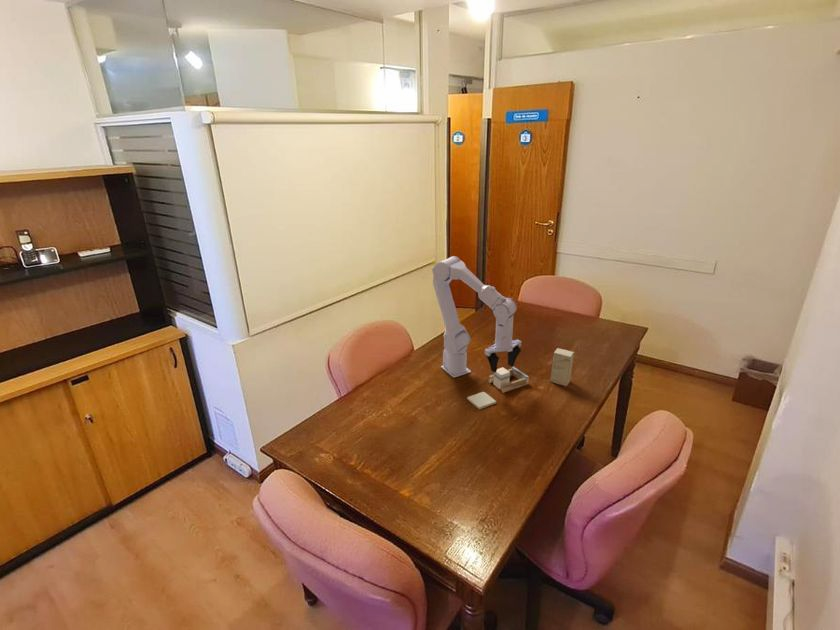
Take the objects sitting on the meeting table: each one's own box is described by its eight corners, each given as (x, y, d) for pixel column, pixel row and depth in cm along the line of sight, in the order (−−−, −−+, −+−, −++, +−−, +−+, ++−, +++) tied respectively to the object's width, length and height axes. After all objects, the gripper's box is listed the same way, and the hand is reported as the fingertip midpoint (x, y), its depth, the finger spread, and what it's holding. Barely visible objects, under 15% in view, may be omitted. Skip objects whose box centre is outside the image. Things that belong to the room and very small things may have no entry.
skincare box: (549, 381, 161) (552, 352, 156) (553, 376, 165) (556, 347, 160) (567, 386, 158) (570, 356, 153) (570, 381, 161) (574, 351, 157)
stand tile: (467, 399, 152) (467, 397, 152) (483, 393, 155) (483, 391, 155) (479, 409, 147) (479, 407, 146) (496, 403, 150) (496, 401, 149)
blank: (493, 384, 161) (493, 370, 158) (502, 381, 162) (502, 367, 160) (500, 389, 157) (501, 375, 155) (509, 386, 159) (510, 372, 157)
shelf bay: (488, 381, 162) (488, 374, 161) (513, 373, 167) (513, 366, 166) (503, 392, 155) (503, 385, 154) (528, 383, 160) (528, 376, 159)
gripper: (494, 343, 145) (492, 378, 151) (528, 333, 152) (525, 367, 157) (481, 335, 151) (480, 370, 156) (514, 326, 157) (512, 359, 163)
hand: (502, 368), depth 157 cm, fingers open, 7 cm apart
